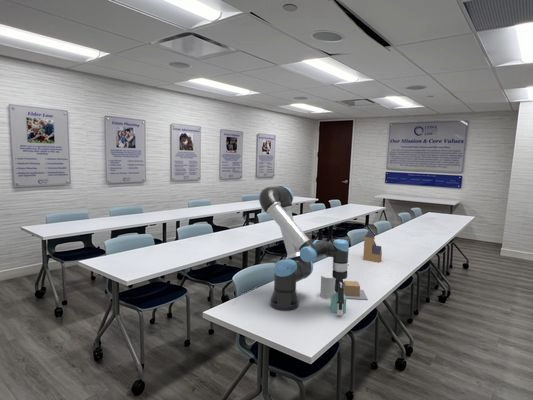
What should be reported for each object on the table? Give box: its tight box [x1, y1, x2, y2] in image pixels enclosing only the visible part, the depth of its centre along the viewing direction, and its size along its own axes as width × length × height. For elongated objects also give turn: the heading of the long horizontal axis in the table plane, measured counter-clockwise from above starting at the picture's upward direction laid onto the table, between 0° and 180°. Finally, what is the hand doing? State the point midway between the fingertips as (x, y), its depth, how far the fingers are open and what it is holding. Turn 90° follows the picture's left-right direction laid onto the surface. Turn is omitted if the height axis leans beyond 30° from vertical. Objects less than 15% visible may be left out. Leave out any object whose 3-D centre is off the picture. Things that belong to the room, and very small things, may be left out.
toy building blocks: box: [362, 229, 383, 264], centre depth 272 cm, size 12×19×25 cm
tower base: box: [343, 280, 369, 301], centre depth 198 cm, size 16×14×7 cm
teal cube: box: [330, 294, 347, 314], centre depth 177 cm, size 7×7×7 cm
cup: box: [319, 272, 336, 300], centre depth 195 cm, size 8×8×12 cm
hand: (338, 309), depth 177 cm, fingers open, 13 cm apart
